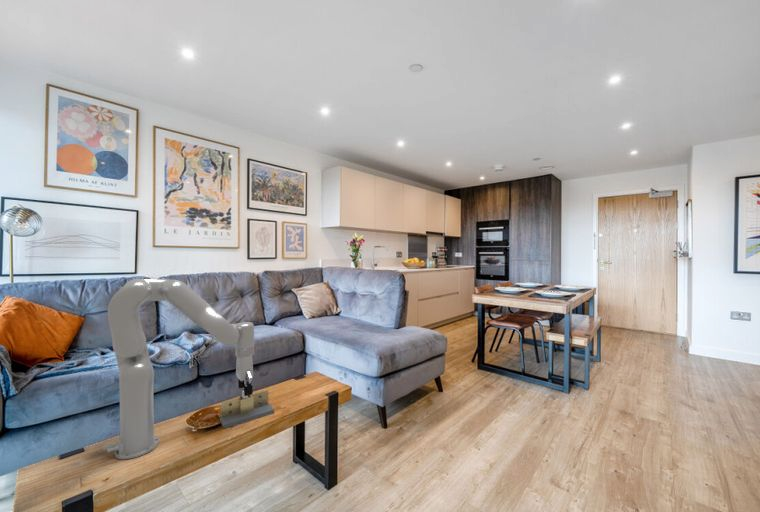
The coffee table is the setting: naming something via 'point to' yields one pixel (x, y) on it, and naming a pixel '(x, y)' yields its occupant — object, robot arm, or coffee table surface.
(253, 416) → the base plate
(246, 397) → the hinge pin
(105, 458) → the coffee table surface
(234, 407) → the hinge
